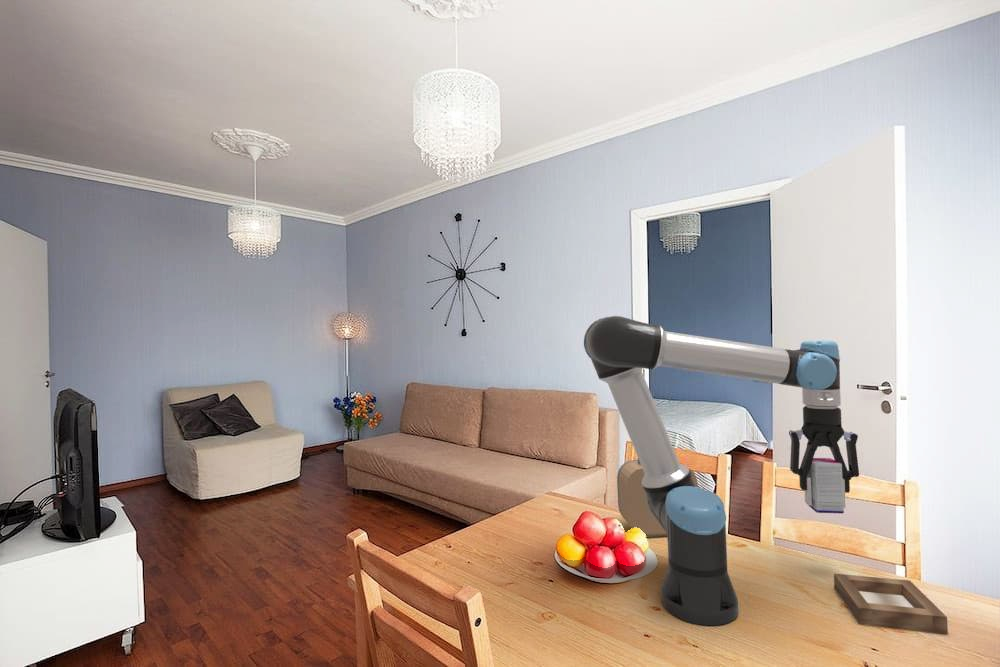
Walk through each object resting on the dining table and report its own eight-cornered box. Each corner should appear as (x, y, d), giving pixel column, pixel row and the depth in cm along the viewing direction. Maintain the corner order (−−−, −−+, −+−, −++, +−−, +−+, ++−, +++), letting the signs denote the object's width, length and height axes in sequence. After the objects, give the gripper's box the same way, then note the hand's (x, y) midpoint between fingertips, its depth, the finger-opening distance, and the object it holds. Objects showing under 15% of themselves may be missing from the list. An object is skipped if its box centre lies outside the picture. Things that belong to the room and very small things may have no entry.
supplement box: (845, 513, 112) (842, 463, 112) (816, 513, 113) (813, 463, 113) (833, 505, 117) (831, 457, 118) (806, 504, 119) (803, 457, 119)
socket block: (859, 624, 95) (858, 607, 95) (834, 587, 109) (833, 573, 109) (947, 634, 91) (947, 617, 91) (910, 595, 104) (909, 580, 105)
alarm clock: (685, 522, 149) (682, 451, 149) (699, 535, 139) (696, 459, 140) (618, 527, 148) (615, 455, 148) (628, 540, 138) (625, 463, 138)
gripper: (779, 408, 115) (783, 507, 115) (876, 409, 109) (879, 513, 109) (772, 403, 122) (775, 496, 122) (862, 404, 116) (866, 502, 116)
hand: (824, 504), depth 115 cm, fingers closed on supplement box, 6 cm apart
